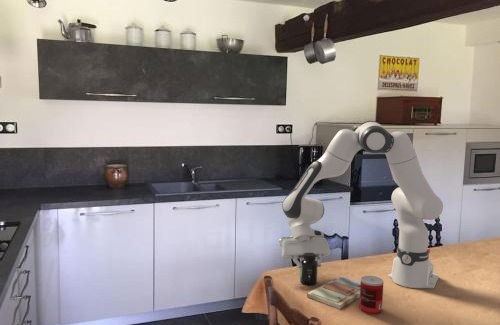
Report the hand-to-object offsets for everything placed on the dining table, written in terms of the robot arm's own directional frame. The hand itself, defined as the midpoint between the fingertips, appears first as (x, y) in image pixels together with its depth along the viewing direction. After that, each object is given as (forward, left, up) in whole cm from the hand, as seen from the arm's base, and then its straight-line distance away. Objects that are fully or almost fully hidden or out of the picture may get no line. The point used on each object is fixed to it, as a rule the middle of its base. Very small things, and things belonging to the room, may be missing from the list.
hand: (309, 266), depth 174 cm
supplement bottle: (0, -1, -7) cm, 7 cm away
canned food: (+4, +29, -7) cm, 30 cm away
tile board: (0, +14, -7) cm, 16 cm away
